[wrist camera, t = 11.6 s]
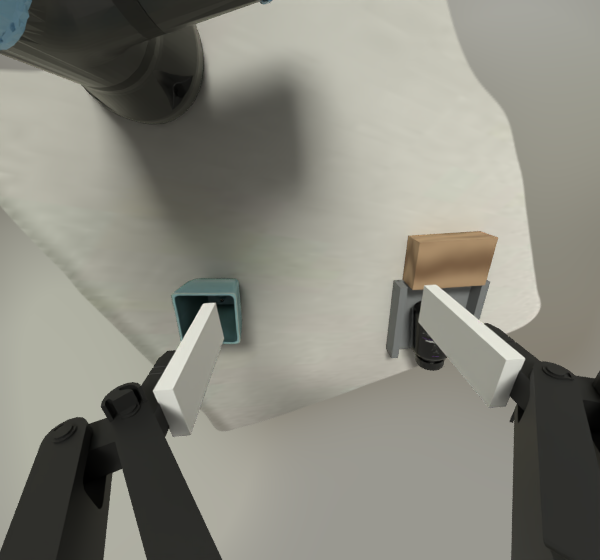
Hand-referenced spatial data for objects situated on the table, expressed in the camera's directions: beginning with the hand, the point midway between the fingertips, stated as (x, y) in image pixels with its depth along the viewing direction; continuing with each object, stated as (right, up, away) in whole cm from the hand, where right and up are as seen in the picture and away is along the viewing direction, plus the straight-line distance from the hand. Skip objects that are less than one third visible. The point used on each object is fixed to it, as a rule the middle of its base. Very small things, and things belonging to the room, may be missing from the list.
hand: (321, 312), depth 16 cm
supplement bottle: (+21, -3, +27) cm, 34 cm away
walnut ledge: (+23, +6, +28) cm, 36 cm away
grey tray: (+23, -4, +32) cm, 40 cm away
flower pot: (-15, 0, +29) cm, 32 cm away
